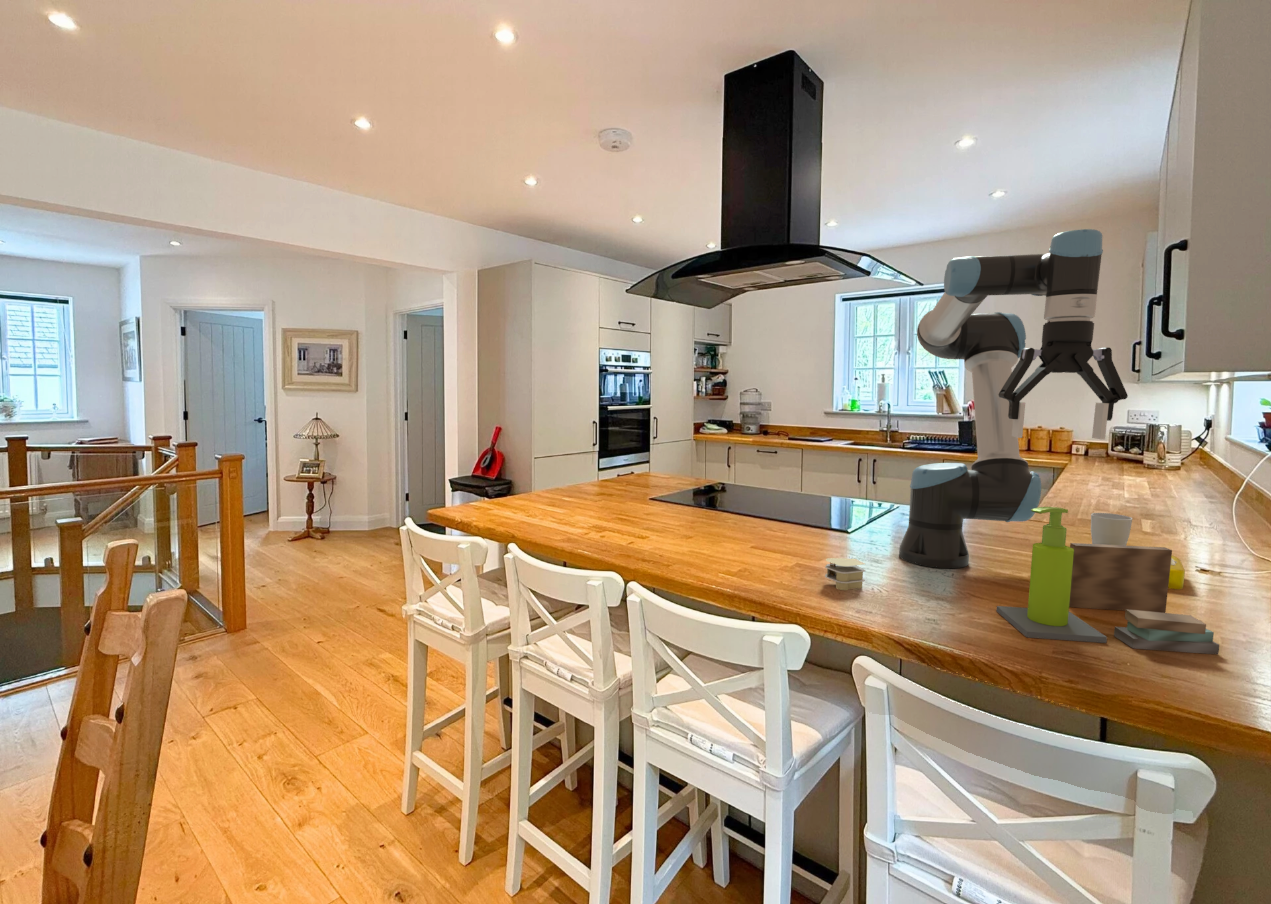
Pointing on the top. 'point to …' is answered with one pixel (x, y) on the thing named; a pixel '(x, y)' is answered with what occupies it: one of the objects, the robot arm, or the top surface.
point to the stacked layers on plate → (845, 573)
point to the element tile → (1176, 574)
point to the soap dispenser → (1051, 572)
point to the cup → (1110, 528)
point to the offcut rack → (1136, 596)
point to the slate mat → (1051, 627)
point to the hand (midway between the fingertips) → (1057, 438)
